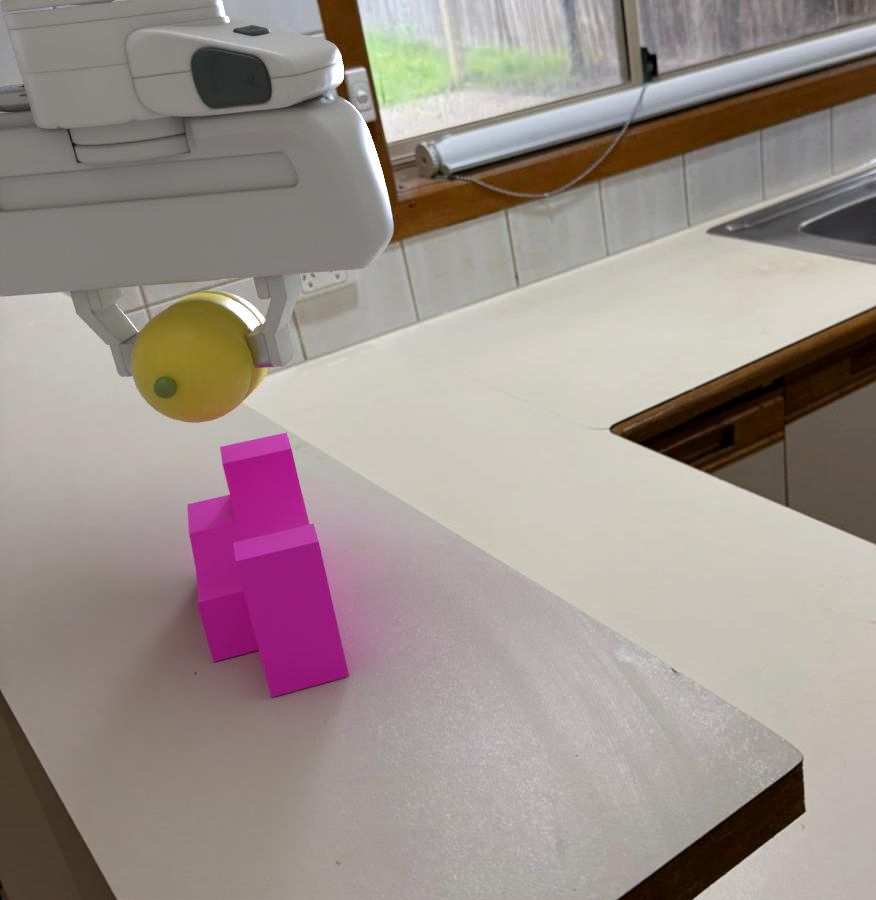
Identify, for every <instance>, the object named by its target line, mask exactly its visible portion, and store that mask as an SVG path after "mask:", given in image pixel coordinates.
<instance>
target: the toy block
mask: <svg viewBox="0 0 876 900" xmlns="http://www.w3.org/2000/svg"><path fill="white" fill-rule="evenodd" d="M290 442H291V441H290V438H289V436H288V433H287V432H282V433H278V434H273V435H268V436H264V437H260V438H253V439H250V440H245V441H240V442H236V443H231V444H226V445H222V446H219V449H220V457H221V464H222V468H223V472H224V476H225V480H226V484H227V489H228V493H229V494H226V495H221V496H217V497H213V498H209V499H205V500H200V501H199V500H198V501H195V502H191V503H187V504H186V505H187V523H188V535H189V540H190V546H191V551H192V557H193V562H194V568H195V576H196V582H197V592H198V597H197V602H196V605H197V608H198V609H197V610H198V613H199V616H200V620H201V623H202V626H203V631H204V634H205V638H206V641H207V644H208V648H209V651H210V655H211V659H212V662H213V663H216V662H219V661H222V660H223V661H224V660H226V659H227V660H228V659H230V658H234V657H238V656H241V655H246V654H251V653H253V652H258V653H259V656H260V660H261V664H262V668H263V672H264V676H265V679H266V683H267V687H268V691H269V695H270V698H271V699H272V698H275V697H279V696H283V695H286V694H289V693H290V694H291V693H294V692H297V691H301V690H304V689H307V688H311V687H315V686H318V685H322V684H325V683H329V682H333V681H336V680H340V679H344V678H347V677H350V673H349V669H348V665H347V661H346V656H345V652H344V648H343V643H342V639H341V634H340V629H339V625H338V621H337V616H336V612H335V607H334V603H333V599H332V594H331V591H330V585H329V581H328V577H327V572H326V567H325V563H324V559H323V553H322V549H321V545H320V540H319V537H318V534H317V529H316V527H315V524H314V523H310V521H309V517H308V512H307V508H306V503H305V499H304V495H303V491H302V487H301V484H300V480H299V474H298V470H297V466H296V462H295V458H294V453H293V450H292V449H293V448H292V446H291V443H290Z"/></svg>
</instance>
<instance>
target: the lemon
mask: <svg viewBox="0 0 876 900" xmlns="http://www.w3.org/2000/svg"><path fill="white" fill-rule="evenodd" d="M264 321H265V317H264V316H263V314H261V312H260V311H259V310H258V308H256V307H255V306H254V305H253V304H252V303H250V302H249V301H247V300H246V299H244V298H242V297H241V296H239V295H236V294H234V293H231V292H228V291H223V290H203V291H196V292H194V293H191V294H188V295H186V296H184V297H181V298H180V299H178V300H177V301H176V302H174V303H173V304H171V305H170V306H168V307H167V308H165V309H164V310H162V311H161V312H159V313H158V314H156V315H155V316H153V317H152V318H151V319H149V321H148V322H147V323H146V324H145V325H144V326H143V327H142V328H141V330H140V331H139V332H140V333H139V335H138V337H137V338H136V341H135V343H134V345H133V349H132V354H131V370H132V375H133V376H132V379H133V381H134V385H135V388H136V390H137V391H138V392H139V394H140V396H141V397H142V398H143V400H144V401H145V402H146V403H147V404H148V405H149V406H150V407H151V408H152V409H154V411H156V412H157V413H159V414H161V415H163V416H164V417H166V418H169V419H172V420H175V421H180V422H185V423H191V424H194V423H195V424H199V423H205V422H210V421H214V420H217V419H221V418H222V417H224V416H226V415H227V414H229V413H230V412H232V411H234V410H235V409H236V408H237V407H239V405H241V404H242V403H243V402H244V401H245V400H246V399H247V398H248V397H249V396H250V395H251V394H252V393H253V392H255V390H256V389H258V387H259V386H260V385H261V384H262V382H264V380H265V378H266V376H267V375H268V373H269V371H270V369H271V367H268V368H255V367H254V364H253V360H252V356H251V355H252V352H251V351H250V350H249V348H248V346H247V342H246V338H245V335H247V334H248V333H249V332H250V331H253V330H254V328H255V327H256V326H257V325H259V324H264Z"/></svg>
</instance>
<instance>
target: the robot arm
mask: <svg viewBox="0 0 876 900" xmlns="http://www.w3.org/2000/svg"><path fill="white" fill-rule="evenodd" d="M64 6H65V7H64ZM56 7H57V8H56ZM0 8H1V13H5V14H2V17H3V20H4V23H5V26H6V30H7V34H8V37H9V40H10V44H11V47H12V50H13V55H14V58H15V61H16V64H17V68H18V71H19V74H20V76H21V80H22V83H20V84H18V83H17V84H11V85H3V86H1V87H0V298H5V297H16V296H30V295H44V294H55V293H68V292H69V294H70V297H71V300H72V304H73V306H74V310H75V313H76V315H77V316H78V317H79V318H80V319H81V321H83V322H84V323H85V324H86V325H87V326H88V327H89V328H90V330H92V331H93V332H94V333H95V334H96V336H98V337H99V338H100V340H101V341H102V342H103V343H104V344H105V345H107V346H109V348H110V349H109V350H110V352H111V355H112V359H113V361H114V365H115V369H116V372H117V374H118V375H119V376H120V377H121V378H130V377H132V378H133V375H132V370H131V354H132V349H133V345H134V343H135V341H136V338H137V337H138V335H139V333H140V331H139V330H138V328H137V327H136V326H135V325H134V324H133V322H132V321H131V320H130V318H129V316H127V315H126V313H124V311H123V310H122V309H121V307H120V306H119V305H118V304H117V302H119V301H120V300H122V299H123V298H124V292H123V288H136V287H148V286H160V285H174V284H175V285H176V284H186V283H188V284H189V283H199V282H212V281H224V280H226V281H227V280H237V279H238V280H239V279H251V278H252V279H253V282H254V286H255V290H256V294H257V298H258V299H260V300H269V299H270V301H269V305H268V309H267V311H266V314H265V317H264V319H265V321H264V324H259V325H257V326H256V327H255V328H254V330H253V331H250V332H249V333H248V334H247V335H245V338H246V342H247V346H248V348H249V350H250V351H251V352H252V355H251V356H252V360H253V364H254V367H255V368H268V367H270V368H282V367H286V365H288V364H289V363H290V362H291V361H292V360H293V357H294V348H293V342H292V338H291V333H290V329H289V324H288V323H289V322H290V321H291V319H292V315H293V313H294V310H295V308H296V305H297V301H298V298H299V295H300V293H301V290H302V287H303V282H302V278H301V275H305V274H316V273H329V272H342V271H344V272H345V271H356V270H363V269H365V268H367V267H369V266H371V264H372V263H374V262H376V260H377V259H378V258H379V257H381V255H382V254H383V253H384V252H385V250H386V249H387V247H388V246H389V244H390V242H391V240H392V238H393V235H394V229H395V227H394V226H395V225H394V219H393V213H392V207H391V203H390V197H389V193H388V189H387V186H386V182H385V178H384V174H383V170H382V167H381V164H380V159H379V157H378V153H377V151H376V148H375V144H374V141H373V139H372V135H371V133H370V129H369V128H368V126H367V123H366V122H365V120H364V118H363V116H362V115H361V113H360V112H359V111H358V110H357V109H356V107H355V106H354V105H353V104H352V103H351V102H349V101H348V100H346V99H345V98H343V97H342V96H339V95H337V94H334V93H329V92H331V91H333V90H335V89H336V88H338V87H339V86H340V85H341V84H342V83H343V80H344V64H343V61H342V60H343V59H342V54H341V52H340V50H339V48H338V47H337V45H336V44H335V43H333V42H331V41H330V40H327V39H324V38H320V37H316V36H312V35H307V34H303V33H298V32H293V31H289V30H286V29H281V28H280V29H279V28H275V27H271V26H267V25H263V24H259V23H254V22H250V21H246V20H242V19H239V18H238V19H237V18H233V17H230V16H228V15H226V13H225V8H224V5H223V1H222V0H118V1H117V0H0ZM46 8H48V9H46ZM37 9H38V10H37ZM29 10H30V11H29ZM20 11H21V12H20ZM22 11H23V12H22ZM10 12H11V13H10Z"/></svg>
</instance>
